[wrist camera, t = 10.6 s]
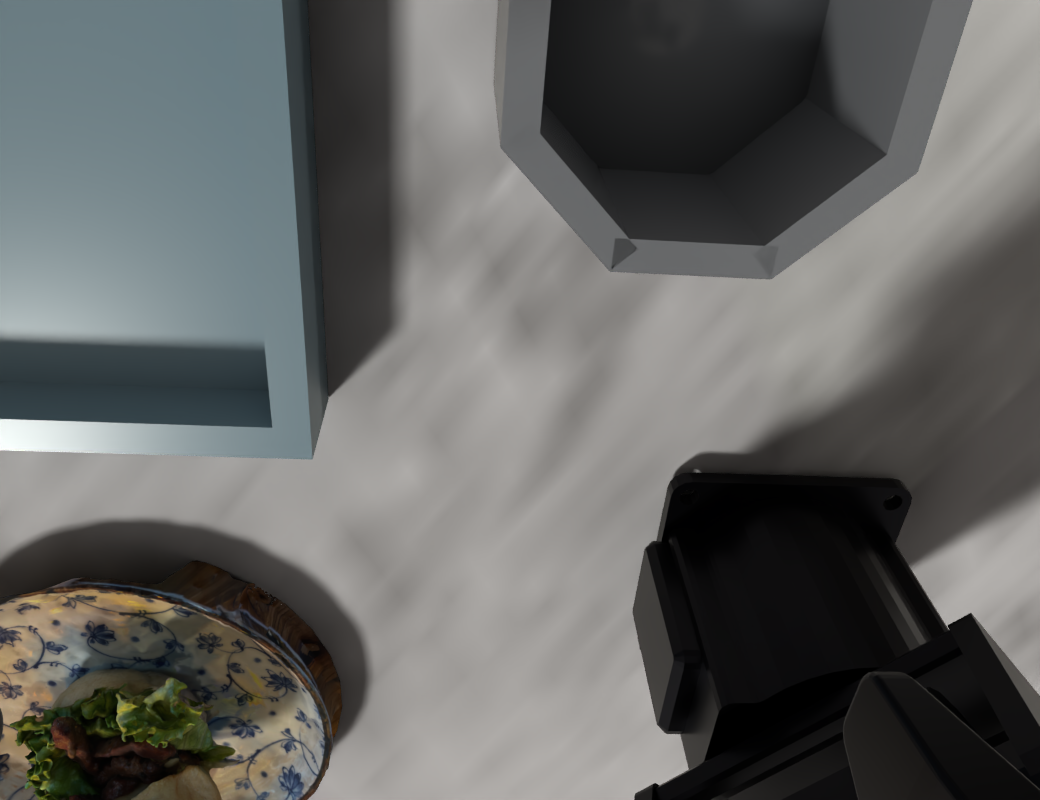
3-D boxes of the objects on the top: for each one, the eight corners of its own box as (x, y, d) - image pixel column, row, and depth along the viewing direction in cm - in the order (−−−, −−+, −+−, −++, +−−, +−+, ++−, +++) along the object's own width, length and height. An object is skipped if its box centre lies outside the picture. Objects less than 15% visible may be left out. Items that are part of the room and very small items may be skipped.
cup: (891, -173, 15) (1032, -185, 11) (798, 199, 19) (881, 285, 15) (509, -208, 15) (523, -233, 11) (488, 181, 18) (493, 265, 14)
